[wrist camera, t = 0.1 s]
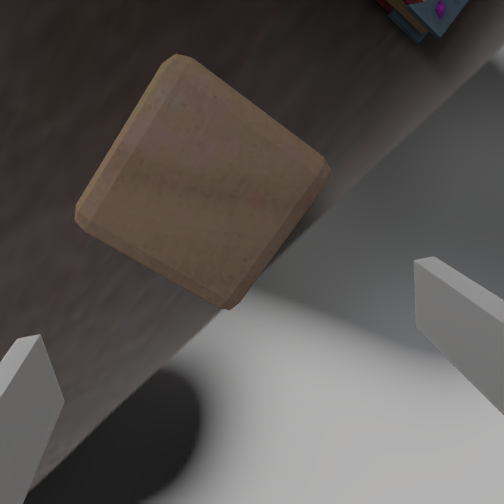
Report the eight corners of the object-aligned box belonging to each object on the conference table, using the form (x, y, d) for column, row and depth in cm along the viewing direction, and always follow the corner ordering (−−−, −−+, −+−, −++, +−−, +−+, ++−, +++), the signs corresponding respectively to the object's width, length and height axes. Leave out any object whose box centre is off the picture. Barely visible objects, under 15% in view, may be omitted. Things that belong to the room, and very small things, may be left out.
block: (212, 226, 43) (232, 323, 24) (120, 167, 40) (60, 226, 21) (272, 138, 41) (344, 170, 22) (180, 70, 38) (173, 41, 19)
